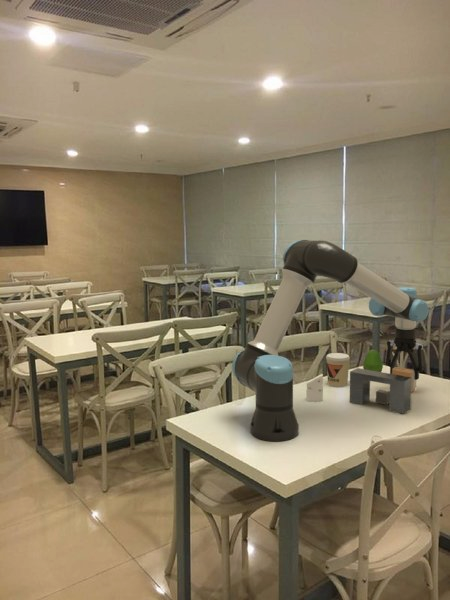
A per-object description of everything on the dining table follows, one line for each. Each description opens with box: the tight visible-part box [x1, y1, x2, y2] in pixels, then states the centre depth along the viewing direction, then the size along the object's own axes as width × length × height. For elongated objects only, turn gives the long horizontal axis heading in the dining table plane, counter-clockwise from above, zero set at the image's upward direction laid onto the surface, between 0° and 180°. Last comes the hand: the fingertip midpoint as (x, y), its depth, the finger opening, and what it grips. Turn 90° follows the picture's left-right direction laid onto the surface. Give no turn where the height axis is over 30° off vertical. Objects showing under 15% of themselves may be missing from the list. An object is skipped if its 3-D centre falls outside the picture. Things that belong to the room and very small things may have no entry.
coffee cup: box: [325, 352, 350, 388], centre depth 205 cm, size 9×9×12 cm
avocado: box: [362, 349, 384, 372], centre depth 214 cm, size 8×8×12 cm
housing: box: [349, 367, 412, 415], centre depth 179 cm, size 6×20×12 cm, turn 49°
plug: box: [375, 366, 416, 405], centre depth 189 cm, size 22×7×8 cm, turn 138°
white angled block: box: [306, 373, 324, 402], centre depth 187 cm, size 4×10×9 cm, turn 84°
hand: (404, 385), depth 196 cm, fingers closed on plug, 7 cm apart
